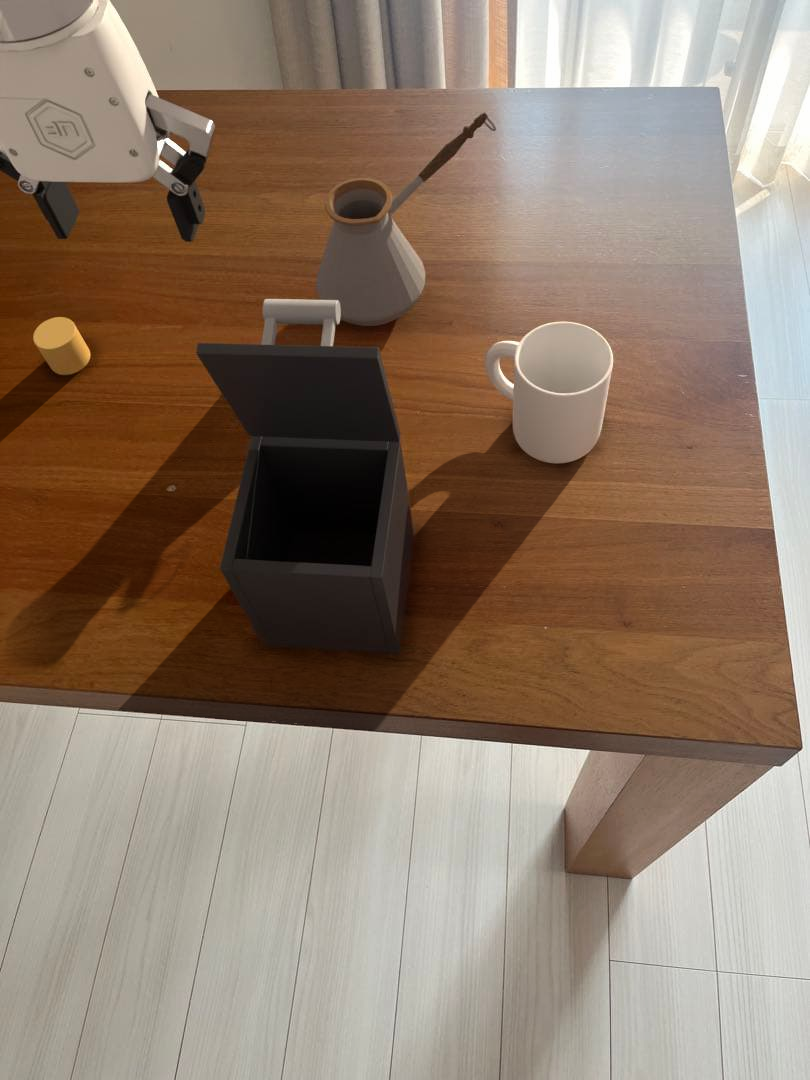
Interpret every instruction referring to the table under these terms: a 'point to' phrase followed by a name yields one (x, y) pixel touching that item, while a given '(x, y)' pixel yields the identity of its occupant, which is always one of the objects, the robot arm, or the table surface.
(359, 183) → the coffee pot
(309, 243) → the table surface
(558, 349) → the mug
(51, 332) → the cylinder
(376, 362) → the chamber lid
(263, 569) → the dark grey storage bin
